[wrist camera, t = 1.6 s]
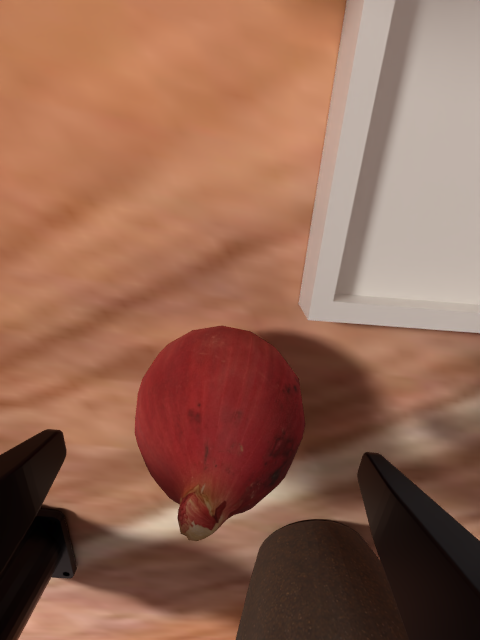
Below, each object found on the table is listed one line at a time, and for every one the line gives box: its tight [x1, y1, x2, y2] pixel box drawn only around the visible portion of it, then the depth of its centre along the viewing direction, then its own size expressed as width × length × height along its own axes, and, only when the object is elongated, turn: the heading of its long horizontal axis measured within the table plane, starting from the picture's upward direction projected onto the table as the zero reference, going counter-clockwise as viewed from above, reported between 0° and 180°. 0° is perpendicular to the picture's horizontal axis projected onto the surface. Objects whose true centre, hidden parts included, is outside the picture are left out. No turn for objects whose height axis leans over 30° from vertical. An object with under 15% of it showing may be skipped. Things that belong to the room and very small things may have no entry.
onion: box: [135, 326, 305, 541], centre depth 10 cm, size 6×6×8 cm
